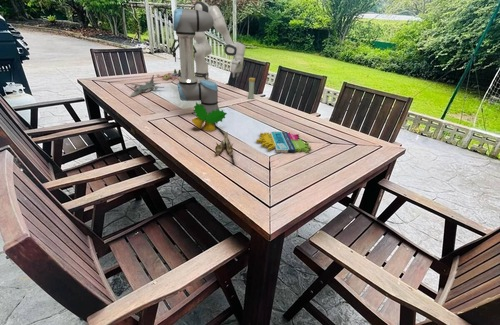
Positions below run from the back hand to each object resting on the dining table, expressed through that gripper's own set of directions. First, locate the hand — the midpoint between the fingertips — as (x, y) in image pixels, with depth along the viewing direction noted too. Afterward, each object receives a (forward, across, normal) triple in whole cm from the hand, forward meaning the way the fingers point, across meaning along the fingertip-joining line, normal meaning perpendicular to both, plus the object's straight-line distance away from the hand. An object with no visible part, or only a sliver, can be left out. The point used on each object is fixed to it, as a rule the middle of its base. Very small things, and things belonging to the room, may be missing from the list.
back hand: (235, 77), depth 242 cm
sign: (+15, +93, +69) cm, 117 cm away
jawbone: (+20, +118, +44) cm, 127 cm away
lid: (-4, +14, +20) cm, 25 cm away
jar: (+12, +12, +22) cm, 28 cm away
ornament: (+20, +93, +23) cm, 98 cm away
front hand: (-7, +39, -31) cm, 51 cm away
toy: (+21, -18, -78) cm, 83 cm away
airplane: (+25, +41, -65) cm, 81 cm away
